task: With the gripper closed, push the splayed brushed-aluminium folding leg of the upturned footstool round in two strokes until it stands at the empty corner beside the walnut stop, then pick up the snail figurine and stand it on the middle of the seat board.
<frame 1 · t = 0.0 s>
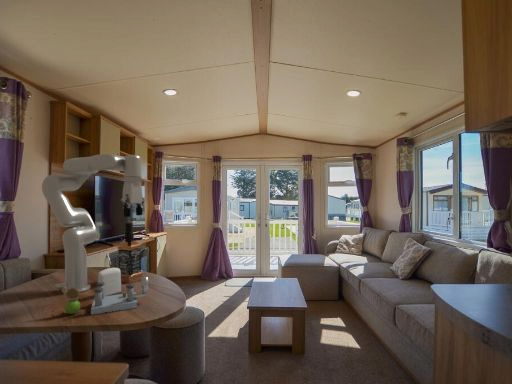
hand: (133, 215, 147), 37 cm above the table, tool pointing down, fingers open, 9 cm apart
photo printer: (109, 294, 145), on the table
whiskey bottle: (129, 280, 169), on the table
stool frame: (115, 305, 130), on the table
snail figurine: (71, 314, 122), on the table
hinged leg: (138, 287, 132), point 7 cm above the table, hinge at 0.0°
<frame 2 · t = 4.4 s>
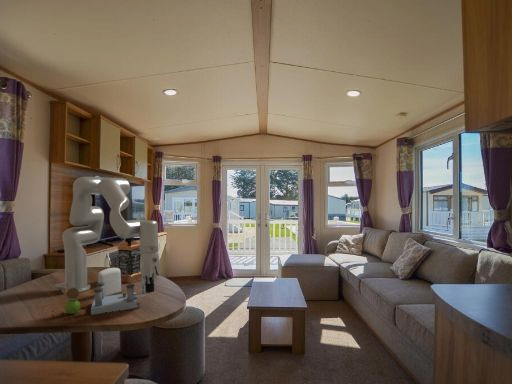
hand: (149, 291, 130), 6 cm above the table, tool pointing down, fingers closed
hinged leg: (138, 287, 132), point 7 cm above the table, hinge at 1.0°, touching gripper
everything else where it was.
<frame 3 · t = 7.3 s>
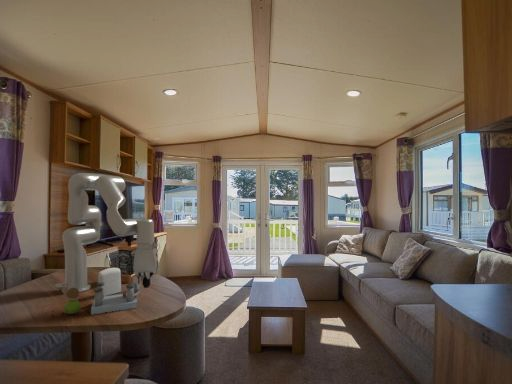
hand: (146, 287, 137), 6 cm above the table, tool pointing down, fingers closed
hinged leg: (133, 286, 134), point 7 cm above the table, hinge at 62.3°, touching gripper
everything else where it was.
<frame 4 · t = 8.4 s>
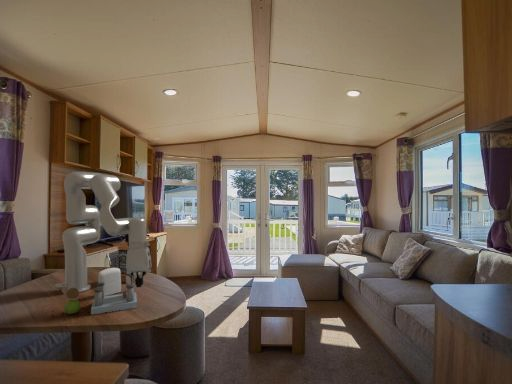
hand: (139, 286, 136), 6 cm above the table, tool pointing down, fingers closed
hinged leg: (129, 286, 134), point 7 cm above the table, hinge at 92.2°, touching gripper
everything else where it was.
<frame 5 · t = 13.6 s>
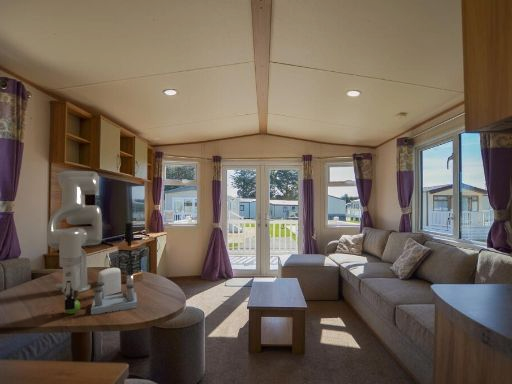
hand: (71, 306, 122), 3 cm above the table, tool pointing down, fingers closed on snail figurine, 5 cm apart
snail figurine: (71, 314, 122), on the table, touching gripper
hinged leg: (130, 286, 134), point 7 cm above the table, hinge at 90.4°
everything else where it was.
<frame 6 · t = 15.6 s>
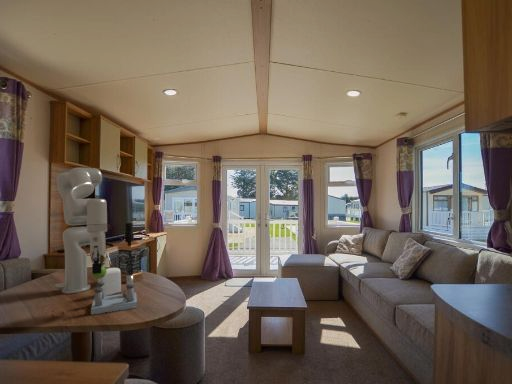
hand: (98, 271, 127), 16 cm above the table, tool pointing down, fingers closed on snail figurine, 5 cm apart
snail figurine: (98, 279, 127), point 12 cm above the table, touching gripper
everything else where it was.
when the fingers open (7 cm above the table, at t = 17.5 s): snail figurine drops 1 cm, resting on stool frame.
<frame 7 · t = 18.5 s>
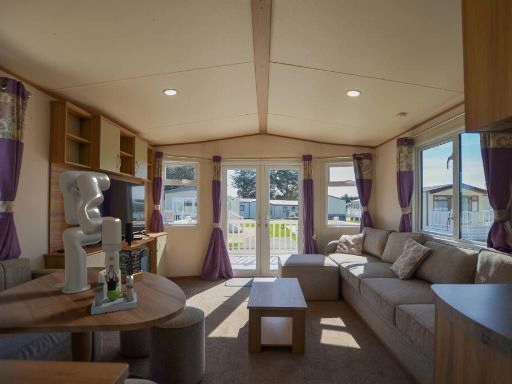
hand: (112, 287, 130), 8 cm above the table, tool pointing down, fingers open, 9 cm apart
snail figurine: (112, 300, 130), point 2 cm above the table, touching stool frame
everything else where it was.
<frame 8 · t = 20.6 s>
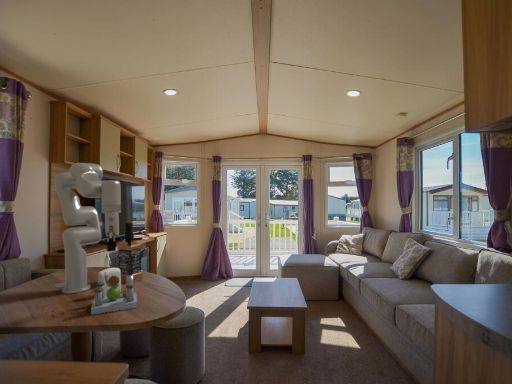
hand: (111, 249, 130), 24 cm above the table, tool pointing down, fingers open, 9 cm apart
nothing on the table moved.
at the end: hinged leg at +90° (first picture: +0°); snail figurine inside the target area on the stool frame (0.5 cm from its centre), point 2.3 cm above the stool frame's base; snail figurine tilted 0° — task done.
